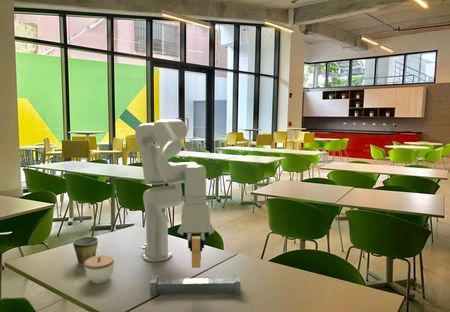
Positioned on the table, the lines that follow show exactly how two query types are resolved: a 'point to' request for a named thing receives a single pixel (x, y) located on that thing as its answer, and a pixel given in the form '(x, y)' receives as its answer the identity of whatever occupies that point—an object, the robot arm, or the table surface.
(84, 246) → the ceramic cup
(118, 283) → the table surface
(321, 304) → the table surface
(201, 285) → the rail
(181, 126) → the robot arm
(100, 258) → the lidded jar
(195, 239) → the clip
